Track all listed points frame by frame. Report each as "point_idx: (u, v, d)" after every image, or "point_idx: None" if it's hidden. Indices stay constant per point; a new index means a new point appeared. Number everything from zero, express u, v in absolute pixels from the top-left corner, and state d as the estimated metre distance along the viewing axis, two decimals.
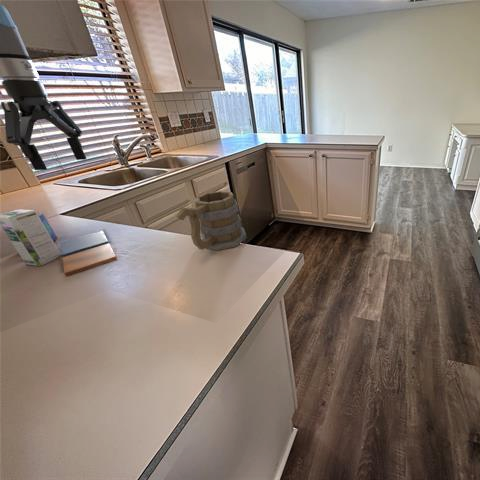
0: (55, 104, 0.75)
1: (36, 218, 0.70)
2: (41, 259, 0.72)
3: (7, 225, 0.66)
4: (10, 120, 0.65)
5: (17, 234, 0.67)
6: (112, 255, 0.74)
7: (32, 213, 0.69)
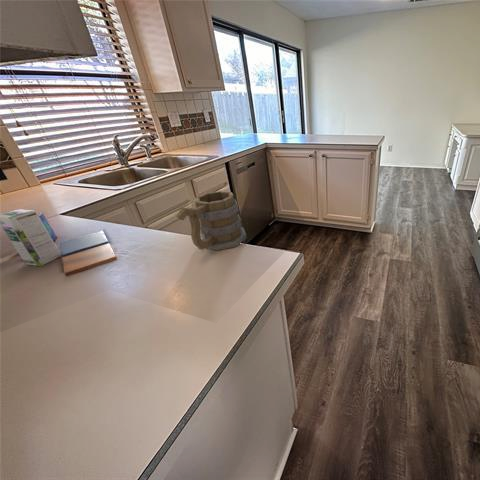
0: None
1: (36, 218, 0.70)
2: (41, 259, 0.72)
3: (7, 225, 0.66)
4: None
5: (17, 234, 0.67)
6: (112, 255, 0.74)
7: (32, 213, 0.69)
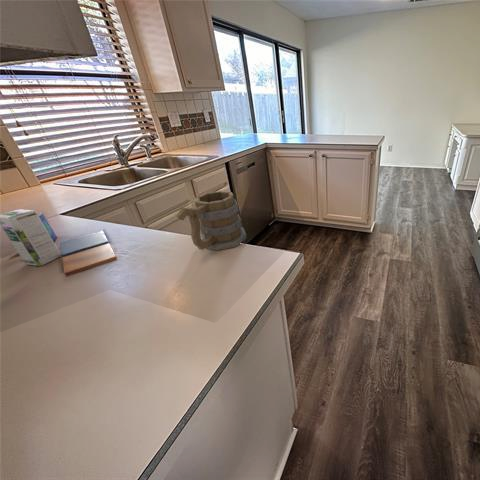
0: None
1: (36, 218, 0.70)
2: (41, 259, 0.72)
3: (7, 225, 0.66)
4: None
5: (17, 234, 0.67)
6: (112, 255, 0.74)
7: (32, 213, 0.69)
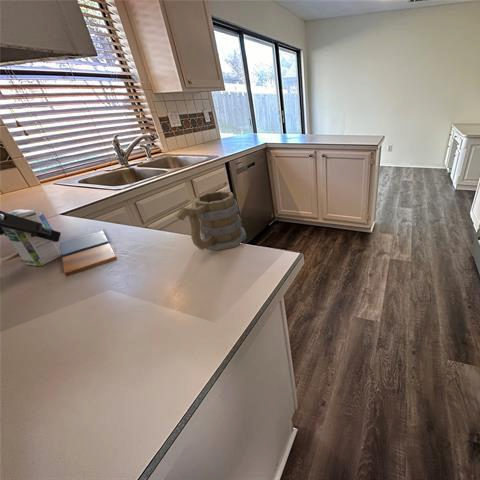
0: None
1: (36, 218, 0.70)
2: (41, 259, 0.72)
3: None
4: (17, 220, 0.63)
5: (17, 234, 0.67)
6: (112, 255, 0.74)
7: (32, 213, 0.69)
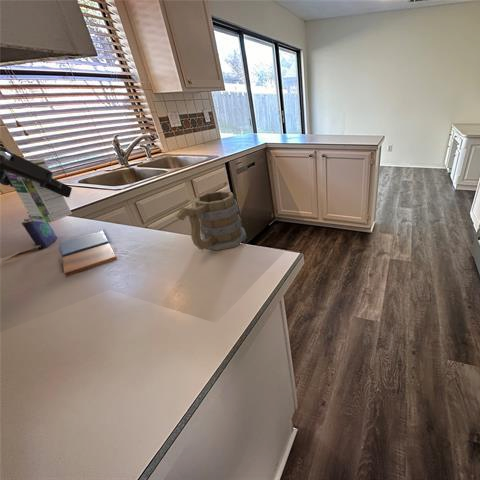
0: None
1: (45, 168, 0.63)
2: (50, 215, 0.65)
3: None
4: (25, 164, 0.56)
5: (25, 184, 0.60)
6: (112, 255, 0.74)
7: (41, 162, 0.62)
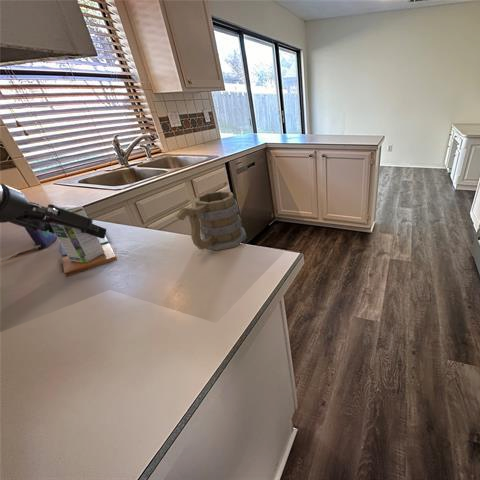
0: None
1: (83, 214, 0.68)
2: (86, 256, 0.70)
3: None
4: (70, 216, 0.61)
5: (66, 230, 0.66)
6: (112, 255, 0.74)
7: (79, 209, 0.68)
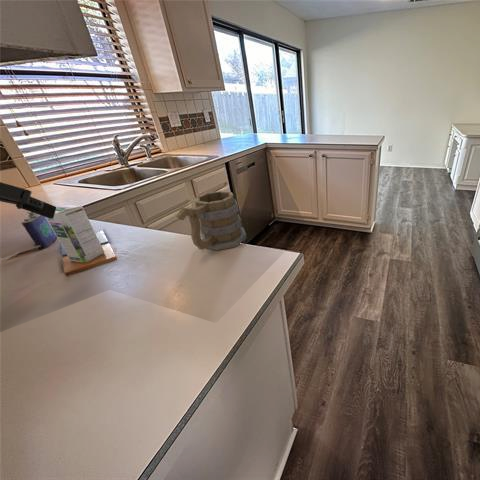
0: None
1: (83, 214, 0.68)
2: (86, 256, 0.70)
3: (55, 221, 0.65)
4: None
5: (66, 230, 0.66)
6: (112, 255, 0.74)
7: (79, 209, 0.68)
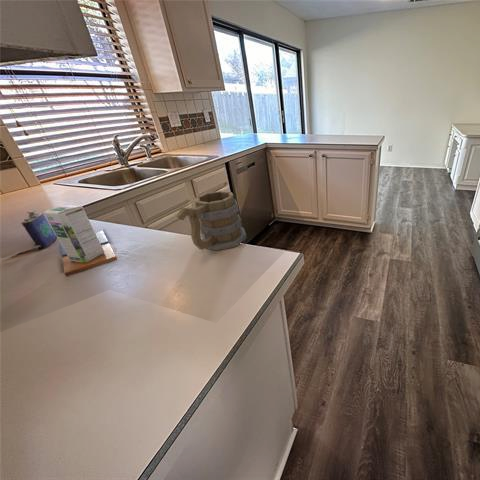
0: None
1: (83, 214, 0.68)
2: (86, 256, 0.70)
3: (55, 221, 0.65)
4: None
5: (66, 230, 0.66)
6: (112, 255, 0.74)
7: (79, 209, 0.68)
